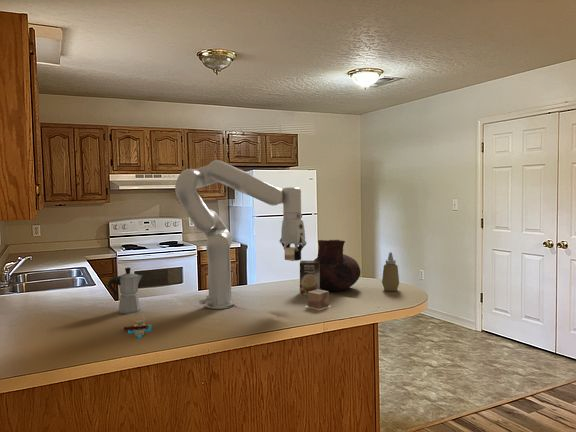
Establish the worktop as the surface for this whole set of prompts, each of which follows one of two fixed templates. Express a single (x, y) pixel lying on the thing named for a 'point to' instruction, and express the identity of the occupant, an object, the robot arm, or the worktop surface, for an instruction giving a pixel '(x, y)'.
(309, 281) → the coffee box
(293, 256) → the maple cube
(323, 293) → the walnut base block
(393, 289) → the squeeze bottle
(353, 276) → the jug
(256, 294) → the worktop surface
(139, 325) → the gear mechanism
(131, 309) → the coffee maker
